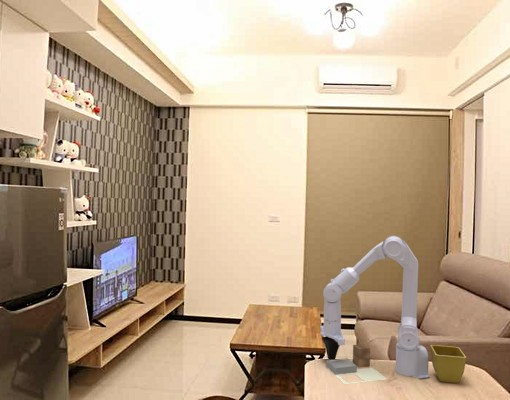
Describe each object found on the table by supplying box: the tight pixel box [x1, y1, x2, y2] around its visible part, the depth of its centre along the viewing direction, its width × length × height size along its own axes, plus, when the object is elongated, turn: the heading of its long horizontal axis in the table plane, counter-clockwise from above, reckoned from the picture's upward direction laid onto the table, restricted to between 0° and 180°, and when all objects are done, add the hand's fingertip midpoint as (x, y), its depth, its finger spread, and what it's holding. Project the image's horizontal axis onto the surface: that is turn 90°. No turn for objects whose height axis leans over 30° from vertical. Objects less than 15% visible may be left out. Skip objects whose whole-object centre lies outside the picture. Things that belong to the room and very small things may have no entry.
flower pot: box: [429, 344, 467, 384], centre depth 133 cm, size 9×9×9 cm
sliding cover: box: [325, 357, 357, 376], centre depth 136 cm, size 8×6×2 cm
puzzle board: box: [325, 365, 388, 385], centre depth 135 cm, size 14×14×1 cm
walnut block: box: [352, 343, 371, 368], centre depth 140 cm, size 4×4×6 cm
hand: (331, 359), depth 143 cm, fingers closed
